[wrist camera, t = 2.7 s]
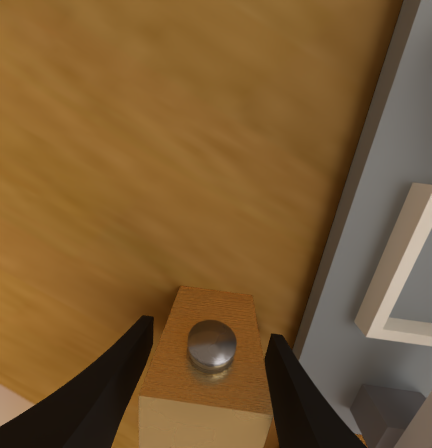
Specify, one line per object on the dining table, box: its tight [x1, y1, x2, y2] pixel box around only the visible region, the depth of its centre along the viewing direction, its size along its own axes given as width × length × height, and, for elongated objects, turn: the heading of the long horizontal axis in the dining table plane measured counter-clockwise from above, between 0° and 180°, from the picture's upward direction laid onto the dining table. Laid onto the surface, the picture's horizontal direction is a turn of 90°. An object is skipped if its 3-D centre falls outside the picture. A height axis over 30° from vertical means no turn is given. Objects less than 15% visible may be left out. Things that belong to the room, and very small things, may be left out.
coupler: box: [139, 286, 273, 448], centre depth 10 cm, size 4×6×6 cm
